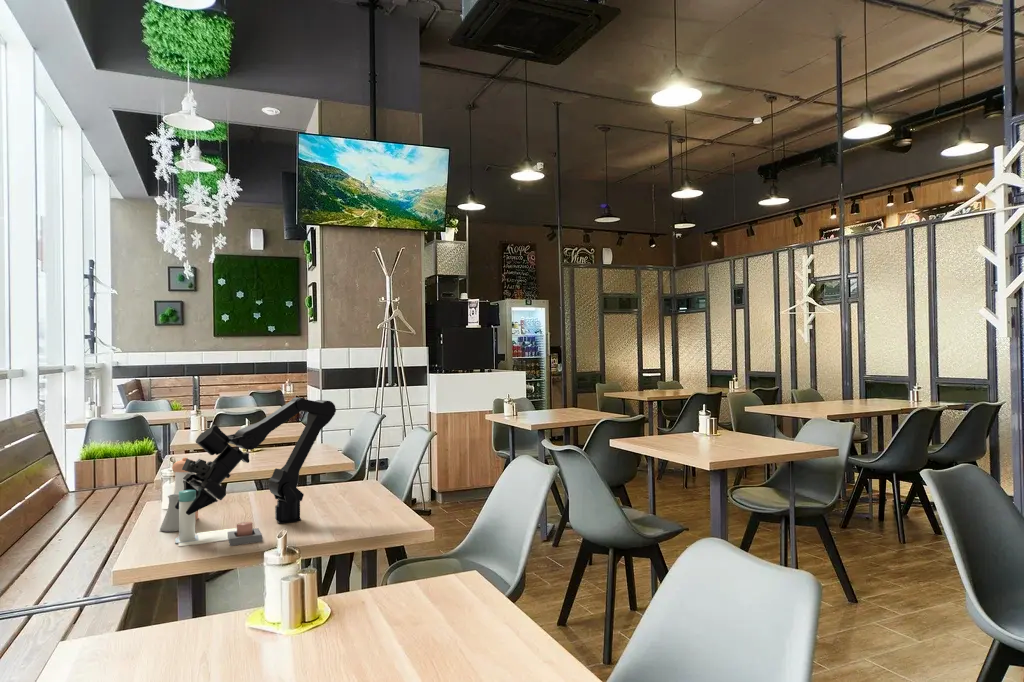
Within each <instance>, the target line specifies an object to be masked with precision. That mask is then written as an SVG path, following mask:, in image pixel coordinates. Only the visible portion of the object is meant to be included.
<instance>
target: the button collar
mask: <svg viewBox="0 0 1024 682" xmlns="http://www.w3.org/2000/svg"><path fill="white" fill-rule="evenodd" d="M227 541H228V544H229V546H230V547H231V546H239V545H246V544H254V543H262V542H263V534H262V532H261V530H260V529H259V527H258V528H257V527H256V528H255V527H254V528H253V534H252V535H246V536H239V537H238V536H237V531H231V532H228V540H227Z"/></svg>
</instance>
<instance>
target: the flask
mask: <svg viewBox="0 0 1024 682" xmlns="http://www.w3.org/2000/svg"><path fill="white" fill-rule="evenodd" d="M167 498H168V504H167V505H168V506H167V510H166V513H165V515H164V518H163V519H162V520H163V521H162V523H161V525H160V528H159V531H160V532H177V531H178V532H179V509H176V508H175V506H176V504H177V502H178V500H179V494H174V493H173V494H169V495H167Z"/></svg>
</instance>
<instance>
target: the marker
mask: <svg viewBox="0 0 1024 682" xmlns="http://www.w3.org/2000/svg"><path fill="white" fill-rule="evenodd" d="M195 498H196V490H183V491H180V492H179V531H178V538H179V540H180V541H188V540H193V539H195V533H196V520H195V512H194V513H192V514H190V515H188V514H186V511H187V510H188V508H189V507H190V505H191V504H192V502H193V501H194V500H195Z"/></svg>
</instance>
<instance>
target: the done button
mask: <svg viewBox="0 0 1024 682" xmlns="http://www.w3.org/2000/svg"><path fill="white" fill-rule="evenodd" d="M236 528H237V536H238V537H239V536H246V535H252V534H253V529H254V528H253V522H252V521H244V522H243V521H242V522H240V523H236Z"/></svg>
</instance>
